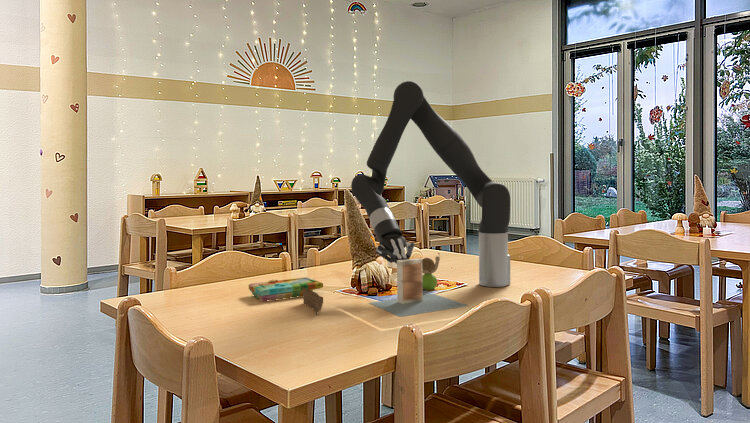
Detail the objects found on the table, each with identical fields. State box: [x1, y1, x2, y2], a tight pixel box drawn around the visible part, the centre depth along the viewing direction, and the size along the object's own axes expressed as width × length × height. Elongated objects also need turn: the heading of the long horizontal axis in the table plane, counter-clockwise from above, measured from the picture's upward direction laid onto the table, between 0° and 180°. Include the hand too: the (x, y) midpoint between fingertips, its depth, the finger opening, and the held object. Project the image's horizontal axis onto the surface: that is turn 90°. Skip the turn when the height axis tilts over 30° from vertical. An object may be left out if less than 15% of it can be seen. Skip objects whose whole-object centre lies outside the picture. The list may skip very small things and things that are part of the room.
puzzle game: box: [248, 277, 324, 302], centre depth 179 cm, size 12×5×20 cm
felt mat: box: [368, 293, 470, 318], centre depth 162 cm, size 22×18×1 cm
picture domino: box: [396, 257, 424, 304], centre depth 165 cm, size 7×3×12 cm, turn 118°
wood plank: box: [302, 288, 324, 316], centre depth 161 cm, size 15×2×5 cm, turn 26°
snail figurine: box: [421, 252, 441, 291], centre depth 181 cm, size 5×6×12 cm
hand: (406, 271), depth 167 cm, fingers closed
